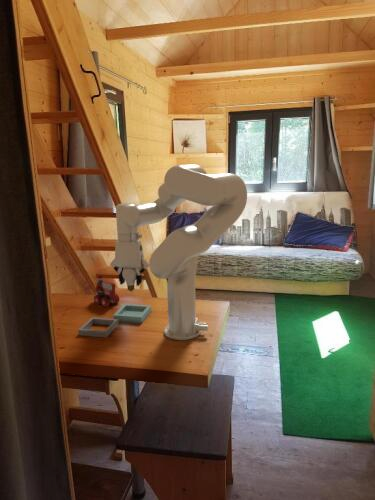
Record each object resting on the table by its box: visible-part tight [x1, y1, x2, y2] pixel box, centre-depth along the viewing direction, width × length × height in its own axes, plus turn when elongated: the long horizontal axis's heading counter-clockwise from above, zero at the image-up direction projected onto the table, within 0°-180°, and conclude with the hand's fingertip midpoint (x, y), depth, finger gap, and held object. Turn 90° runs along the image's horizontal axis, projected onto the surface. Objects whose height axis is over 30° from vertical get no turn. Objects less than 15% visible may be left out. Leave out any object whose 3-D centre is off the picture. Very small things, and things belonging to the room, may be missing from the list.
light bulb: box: [122, 268, 137, 292], centre depth 142 cm, size 6×6×10 cm
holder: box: [77, 317, 120, 338], centre depth 135 cm, size 10×10×2 cm
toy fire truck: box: [93, 278, 120, 308], centre depth 158 cm, size 7×12×10 cm, turn 48°
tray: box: [112, 303, 152, 324], centre depth 145 cm, size 11×11×2 cm
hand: (130, 283), depth 142 cm, fingers closed on light bulb, 5 cm apart
